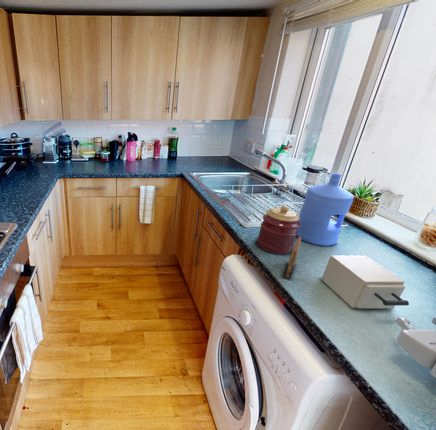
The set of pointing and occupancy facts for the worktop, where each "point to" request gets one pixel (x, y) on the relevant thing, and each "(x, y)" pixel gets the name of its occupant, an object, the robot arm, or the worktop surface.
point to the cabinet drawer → (382, 296)
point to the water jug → (324, 212)
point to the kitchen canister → (278, 230)
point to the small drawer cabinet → (355, 276)
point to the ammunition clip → (292, 259)
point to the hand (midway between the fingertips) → (417, 319)
